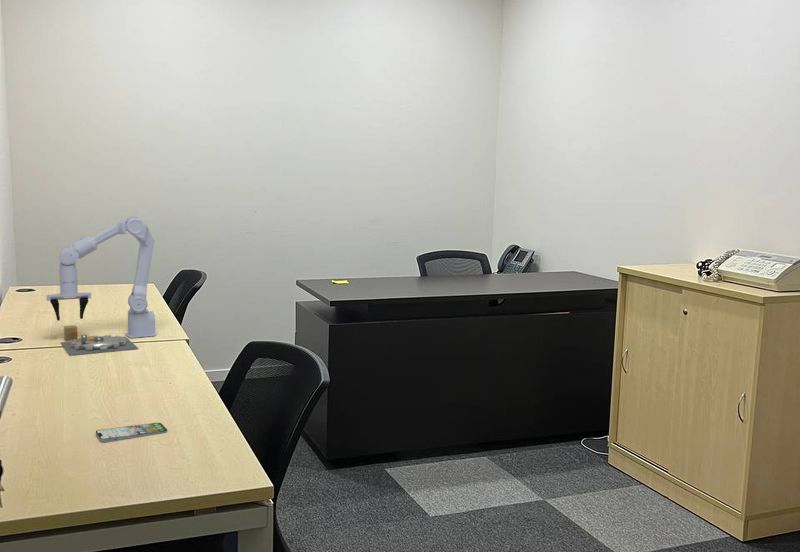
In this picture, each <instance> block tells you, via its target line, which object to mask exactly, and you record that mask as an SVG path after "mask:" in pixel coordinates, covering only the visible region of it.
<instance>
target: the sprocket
mask: <svg viewBox="0 0 800 552" xmlns="http://www.w3.org/2000/svg"><path fill="white" fill-rule="evenodd" d="M80 335H81V336H80V337H78V340H72V341H70V342H71V347H75V349H79V350H80V349H86V350H94V349H100V350H104V349H107V348H117V347H120V346H119V345H125V344H126V338H127V337H126V338H122V337H123V336H119V335H116V336H115V335H114V336H112V335H111V334H110V335H109V334H108V335H107V334H105V335H103V336H101V335H100V336H99V335H91V336H90V335H88V334H80Z"/></svg>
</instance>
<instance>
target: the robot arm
mask: <svg viewBox="0 0 800 552" xmlns="http://www.w3.org/2000/svg"><path fill="white" fill-rule="evenodd" d="M127 232H128V234H130V235H131V236H133V237H134V239H136V240H137V241H138V243H139V249H138V255H137V260H136V261H137V262H136V267H135V268H136V269H135V275H134V282H133V285H132V289H131V293H130V295H129V296H128V299H127V304H128V306H129V309H128V310H127V332H126V333H125V335H126V336H127V338H128V339H135V338H145V337H156V335H157V334H156V316H155V312H154V311H153V310H152V311H151V310H150V311H149V309H148V306H149V305H148V304H149V303H148V300H147V294H148V293H147V292H148V290H147V289H148V287H147V286H148V282H149V275H150V270H151V264H152V263H151V262H152V257H153V252H154V251H153V249H154V243H155V240H154V238H153V236H152V233H151V231H150V229H149V226H148V225H147V224H146V222H144V221H143V220H142V219H140V218H139V217H138V216H133V215H132V216H129V217H127V218H126V219H123V220H120V221H118V222H116V223H113V224H112V225H111V226H109V227H107V228H105V229H104V230H103V231H101V232H99V233H97V234H96V235H94V236H88V235H87V236H85V237H84V236H81V237H80V238H79V239H80V240H78V241H75V242H74V243H72V244H71V243H69V244H68V245H67V247H65V248H62V249H61V250H60V251H59V253H58V260H59V270H58V271H59V290H60V291H59V293H53V294H52V293H51V294H46V301H47V302H50V304H51V306H52V308H53V310H54V313H55V316H56V317H55V318H56V320H57V321H60V320H61V319H60V316H61V315H60V302H59V301H63V300H66V301H67V300H78V301H79V319H80V320H83V319H84V313H85V310H86V307H87V305H88V303H89V299H92V293H91V292H89V291H88V292H79V290H78V269H77V265H76V264H77V260H78V259H82V258H84V257H85V256H86V257H87V255H89V254H91V253H94V252H95V251H96V250H97V248H98V245H100V244H102V243H104V242H105V241H107V240H109V239H111V238H113V237H114V236H116V235H127Z"/></svg>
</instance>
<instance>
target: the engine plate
mask: <svg viewBox="0 0 800 552" xmlns="http://www.w3.org/2000/svg"><path fill="white" fill-rule="evenodd" d="M121 337H122V338H126V344H125V345H119V346H120V347H117V348H107V349H104V350H100V349H94V350H86V349H80V350H79V349H75V347H71V341H68V342H66V341H61V342H60V345H61V346H62V347H63V349H64V350H65V352H66V353H67V355H68V356H70V357H73V356H82V355H84V356H85V355H93V354H103V353H113V352H124V351H133V350H134V351H136V350H139V347H138V346H137V345H136V344H134V342H132V341H131V340H130V338H129V337H126V336H121Z"/></svg>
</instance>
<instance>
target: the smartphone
mask: <svg viewBox="0 0 800 552" xmlns="http://www.w3.org/2000/svg"><path fill="white" fill-rule="evenodd" d="M167 432H168V429H167V428H166V427H165V425H164V424H162V423H161V422H153V423H144V424H136V425H135V424H134V425H129V426H119V427H111V428H104V429H102V428H101V429H97V430H96V431H95V436H96V437H97V439H98V441H99V442H100V443H111V442H112V443H113V442H118V441H119V442H120V441H124V440H131V439H136V438H137V439H138V438H142V437H148V436H154V435H161V434H166V433H167Z"/></svg>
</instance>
